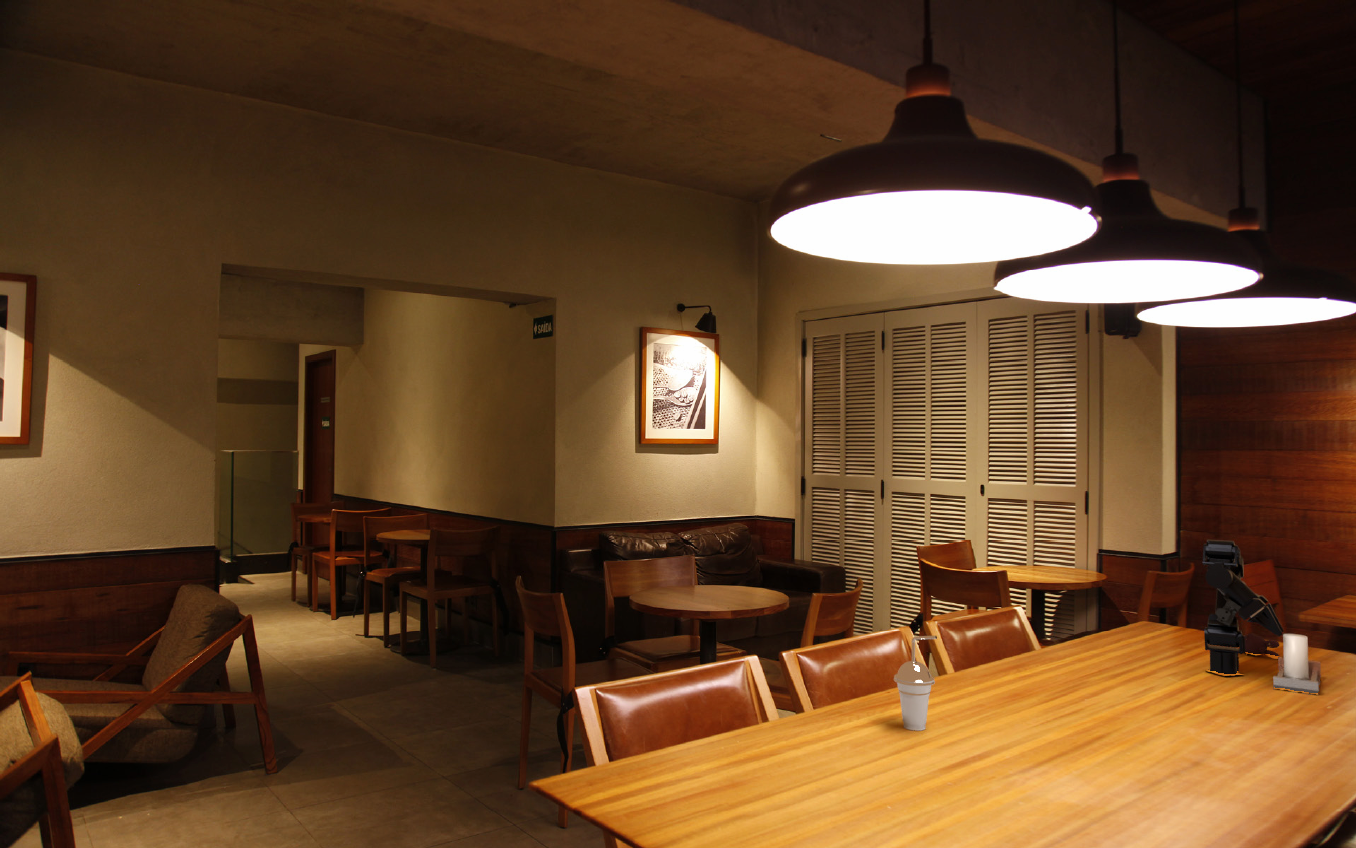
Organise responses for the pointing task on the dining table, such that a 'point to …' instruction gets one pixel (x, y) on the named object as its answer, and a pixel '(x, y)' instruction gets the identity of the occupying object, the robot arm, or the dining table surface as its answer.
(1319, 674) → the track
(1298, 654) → the white cylinder
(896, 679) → the cup with straw
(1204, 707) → the dining table surface
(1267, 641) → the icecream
